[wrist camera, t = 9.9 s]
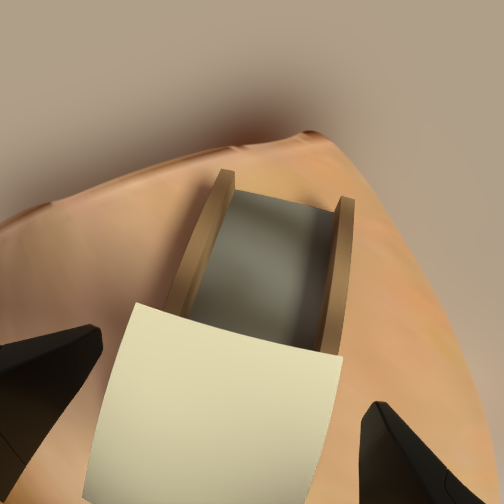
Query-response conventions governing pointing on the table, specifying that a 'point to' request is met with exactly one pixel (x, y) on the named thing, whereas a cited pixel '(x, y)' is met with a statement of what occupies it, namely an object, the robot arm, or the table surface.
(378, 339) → the table surface
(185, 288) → the track
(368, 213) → the table surface
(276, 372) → the block
